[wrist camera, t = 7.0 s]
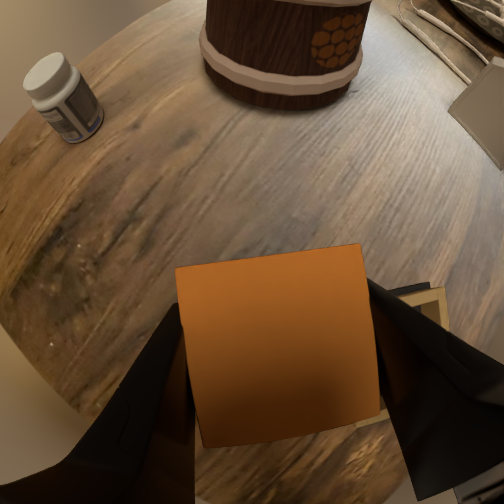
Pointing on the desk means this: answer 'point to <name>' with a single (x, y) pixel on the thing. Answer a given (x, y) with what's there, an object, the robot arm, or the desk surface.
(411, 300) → the base pad
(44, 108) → the pill bottle
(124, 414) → the robot arm
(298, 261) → the orange rectangular block
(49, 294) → the desk surface
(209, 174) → the desk surface
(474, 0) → the planter
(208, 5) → the mug
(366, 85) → the desk surface
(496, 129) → the gravestone
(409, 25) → the earphone
